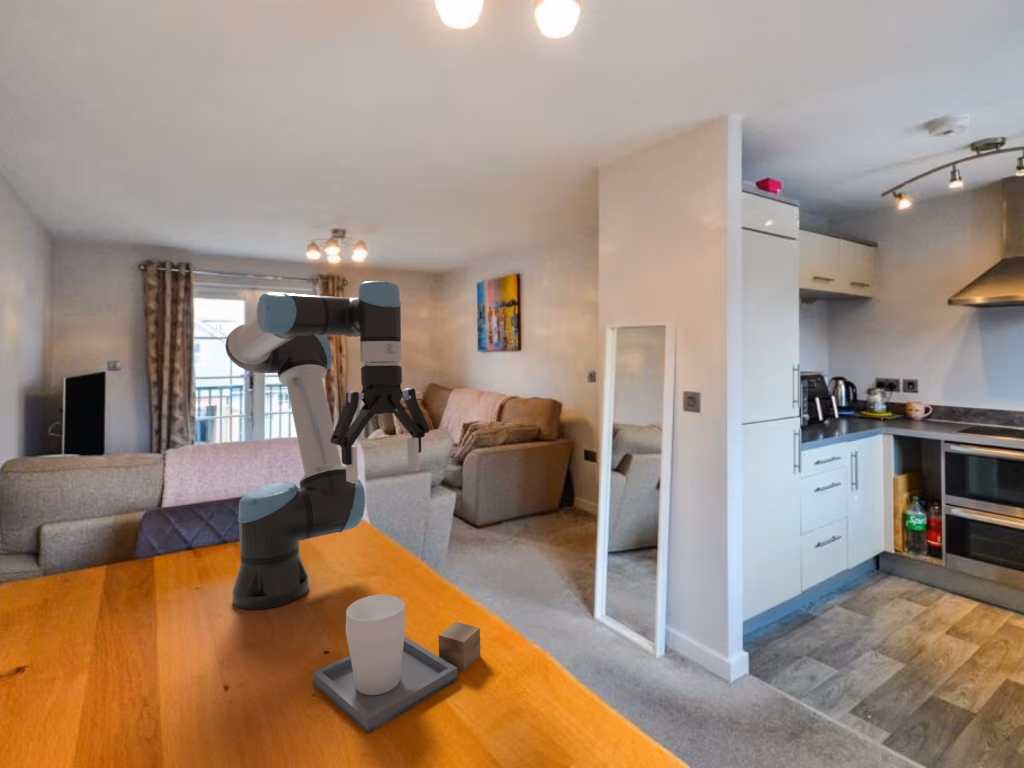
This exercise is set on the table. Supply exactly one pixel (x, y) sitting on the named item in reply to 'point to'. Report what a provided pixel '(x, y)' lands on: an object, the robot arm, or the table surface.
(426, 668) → the tray
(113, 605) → the table surface
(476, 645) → the walnut cube
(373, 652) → the cup
